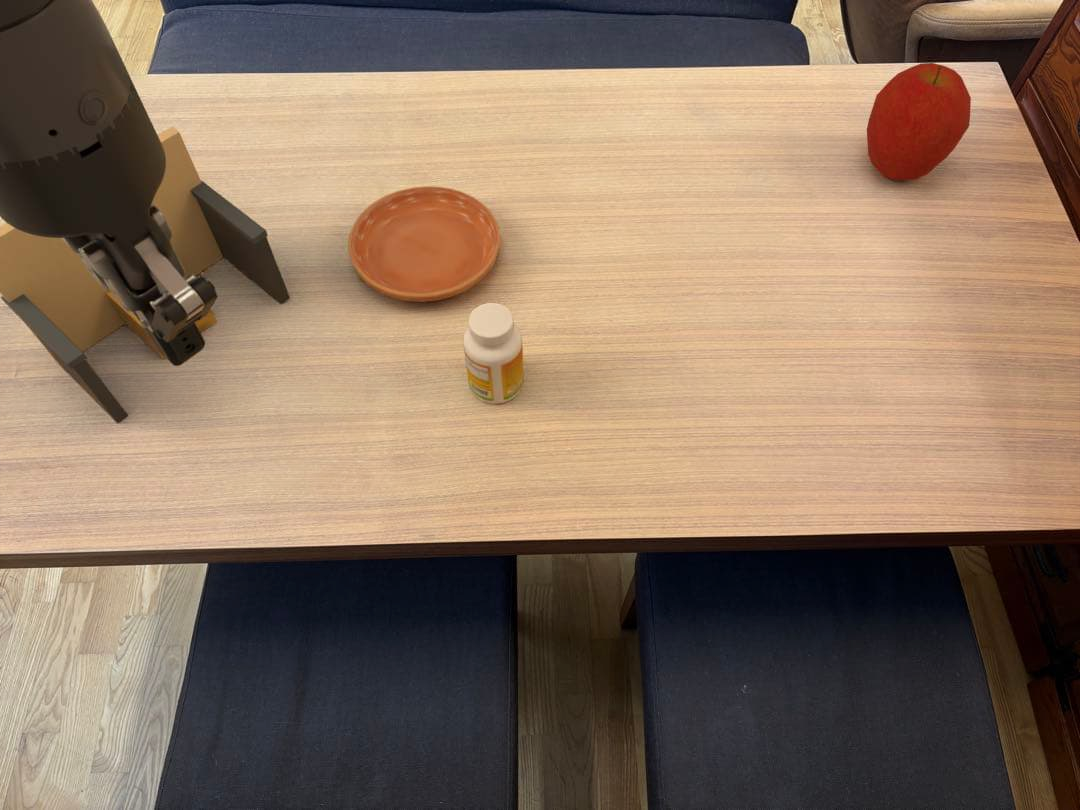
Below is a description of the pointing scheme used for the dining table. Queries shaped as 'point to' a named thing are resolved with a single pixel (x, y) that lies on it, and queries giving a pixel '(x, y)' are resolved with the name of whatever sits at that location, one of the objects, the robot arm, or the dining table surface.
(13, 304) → the small wooden bench
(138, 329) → the box
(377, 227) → the saucer
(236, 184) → the dining table surface
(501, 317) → the supplement bottle
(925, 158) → the apple
